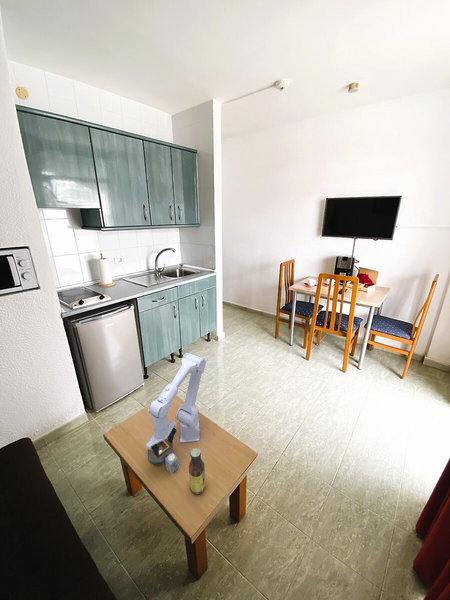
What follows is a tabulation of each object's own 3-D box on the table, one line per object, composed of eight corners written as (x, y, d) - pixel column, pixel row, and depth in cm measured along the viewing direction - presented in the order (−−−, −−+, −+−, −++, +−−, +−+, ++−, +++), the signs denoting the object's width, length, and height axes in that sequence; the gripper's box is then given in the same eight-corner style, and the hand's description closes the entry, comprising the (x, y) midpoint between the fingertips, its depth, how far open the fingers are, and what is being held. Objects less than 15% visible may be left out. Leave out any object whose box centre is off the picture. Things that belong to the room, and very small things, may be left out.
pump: (173, 461, 111) (172, 450, 108) (180, 469, 108) (179, 458, 105) (166, 467, 108) (164, 457, 106) (173, 476, 105) (171, 465, 102)
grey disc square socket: (165, 437, 122) (164, 430, 121) (179, 450, 116) (178, 444, 114) (143, 453, 114) (142, 447, 113) (157, 470, 107) (156, 463, 106)
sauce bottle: (207, 492, 99) (205, 458, 92) (191, 497, 97) (189, 463, 90) (203, 476, 105) (202, 443, 97) (189, 481, 103) (186, 447, 96)
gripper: (167, 409, 109) (170, 432, 114) (140, 432, 98) (144, 455, 103) (178, 417, 105) (180, 440, 110) (151, 441, 95) (154, 465, 100)
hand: (163, 448), depth 107 cm, fingers open, 7 cm apart
